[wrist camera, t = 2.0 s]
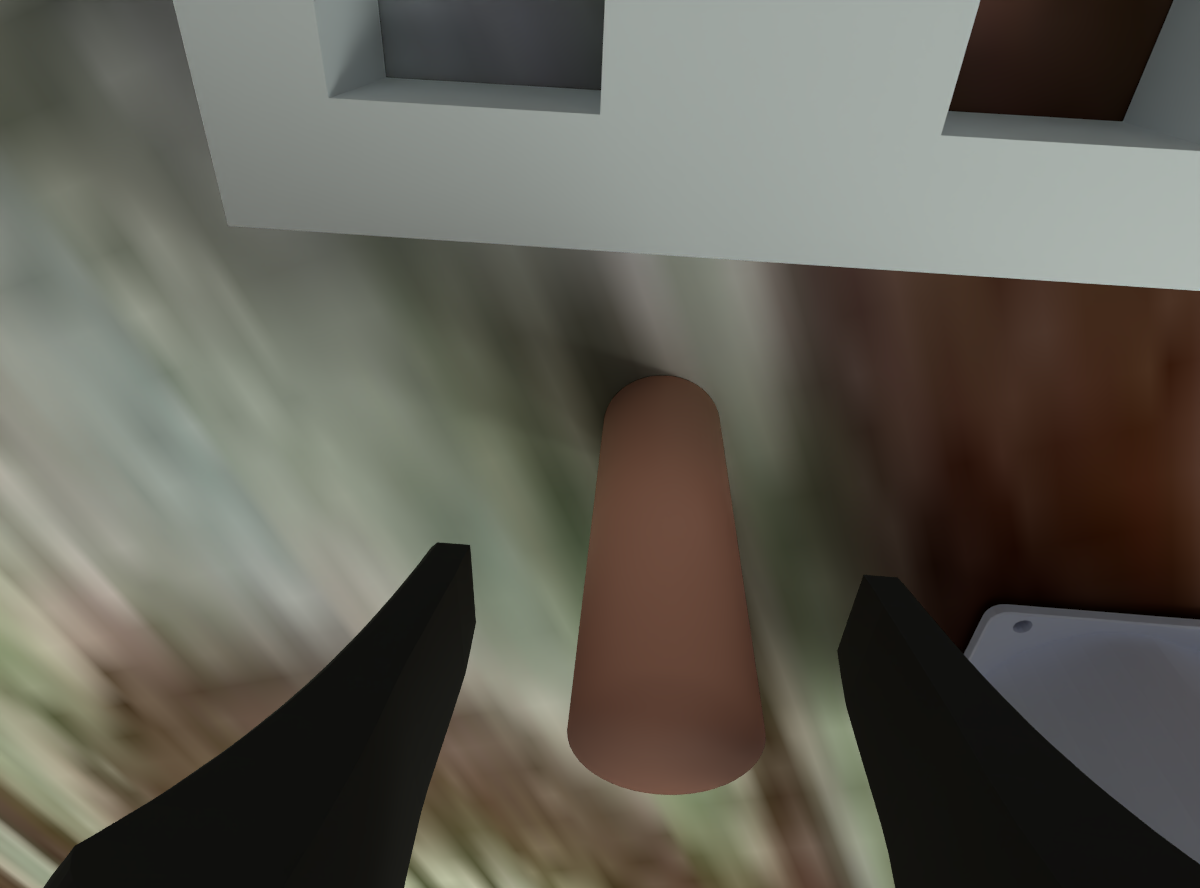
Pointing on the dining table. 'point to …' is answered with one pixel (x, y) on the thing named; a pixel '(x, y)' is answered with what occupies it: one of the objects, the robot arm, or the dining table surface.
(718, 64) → the hole block
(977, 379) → the dining table surface
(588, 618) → the peg
